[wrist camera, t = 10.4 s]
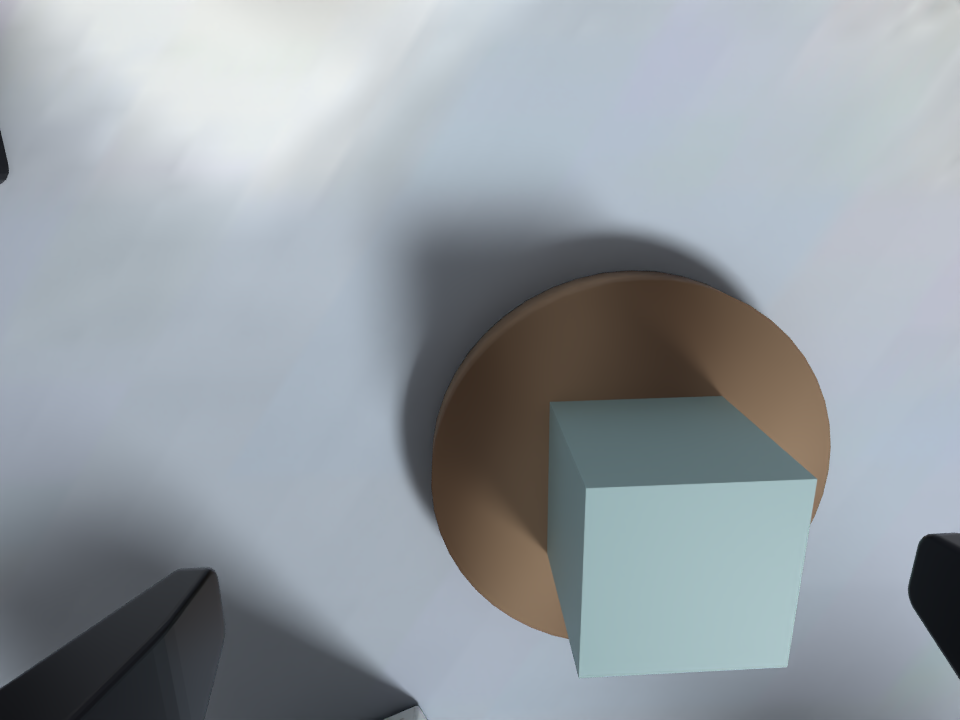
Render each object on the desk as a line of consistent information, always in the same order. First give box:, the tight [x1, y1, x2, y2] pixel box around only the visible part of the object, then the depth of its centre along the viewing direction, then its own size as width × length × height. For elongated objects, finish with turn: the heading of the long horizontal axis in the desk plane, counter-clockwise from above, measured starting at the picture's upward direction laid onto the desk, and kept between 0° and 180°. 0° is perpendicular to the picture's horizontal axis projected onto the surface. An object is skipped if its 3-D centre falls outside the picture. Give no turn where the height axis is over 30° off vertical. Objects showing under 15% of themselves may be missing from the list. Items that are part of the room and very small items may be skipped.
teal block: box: [547, 396, 817, 678], centre depth 17 cm, size 5×5×5 cm
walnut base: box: [431, 271, 831, 639], centre depth 20 cm, size 12×12×2 cm
